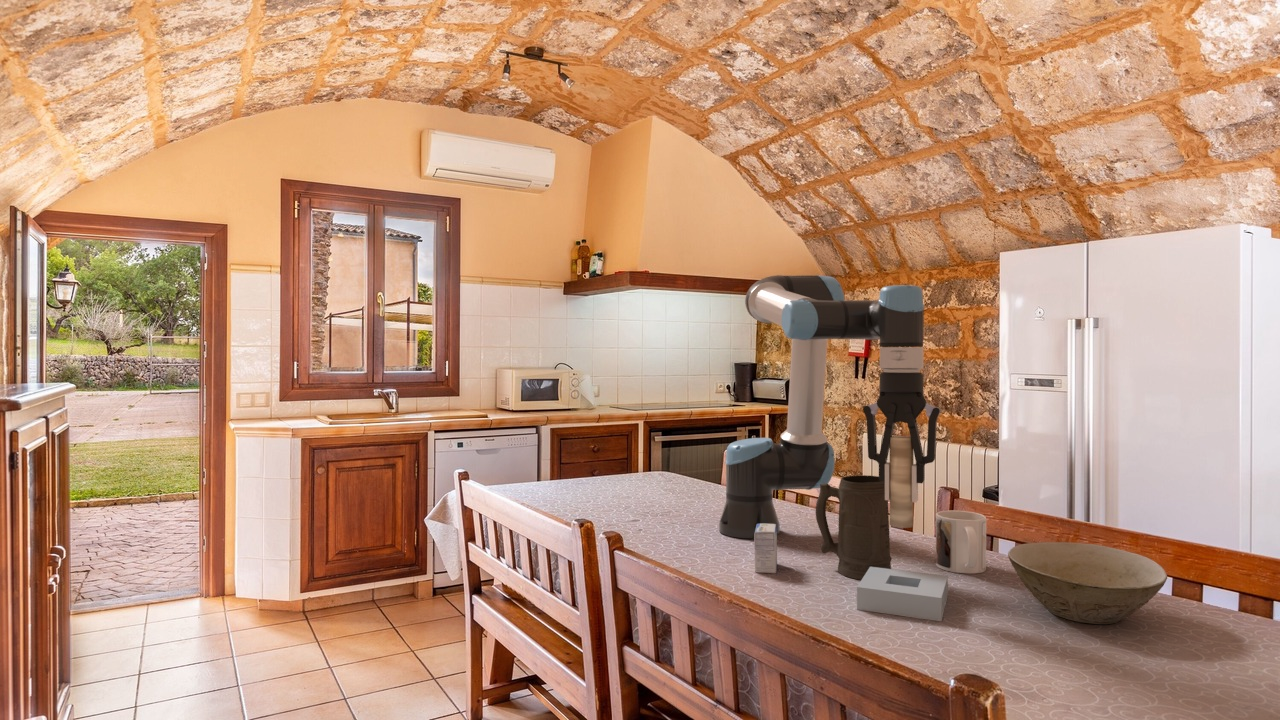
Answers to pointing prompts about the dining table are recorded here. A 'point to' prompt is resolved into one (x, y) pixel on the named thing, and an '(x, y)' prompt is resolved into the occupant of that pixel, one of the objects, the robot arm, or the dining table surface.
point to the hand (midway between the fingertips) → (901, 499)
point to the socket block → (903, 593)
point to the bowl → (1087, 579)
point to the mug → (961, 541)
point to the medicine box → (765, 548)
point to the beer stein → (857, 524)
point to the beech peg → (901, 482)
